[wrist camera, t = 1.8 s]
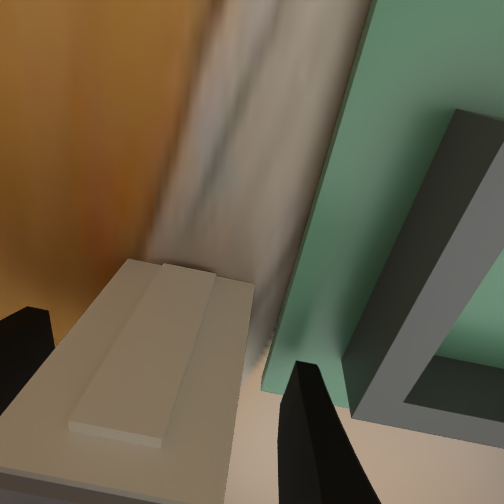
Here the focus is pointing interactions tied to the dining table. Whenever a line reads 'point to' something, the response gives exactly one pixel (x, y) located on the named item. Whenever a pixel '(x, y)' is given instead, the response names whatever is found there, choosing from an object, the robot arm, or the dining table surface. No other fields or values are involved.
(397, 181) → the header socket
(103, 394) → the plug
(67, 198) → the dining table surface
